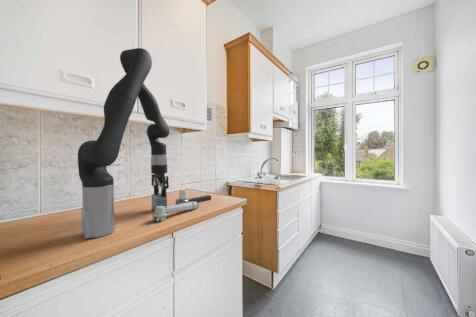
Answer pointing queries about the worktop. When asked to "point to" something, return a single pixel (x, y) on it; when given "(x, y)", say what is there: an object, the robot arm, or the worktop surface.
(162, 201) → the socket
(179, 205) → the grey cylindrical tool
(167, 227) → the worktop surface
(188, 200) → the ratchet
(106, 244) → the worktop surface
